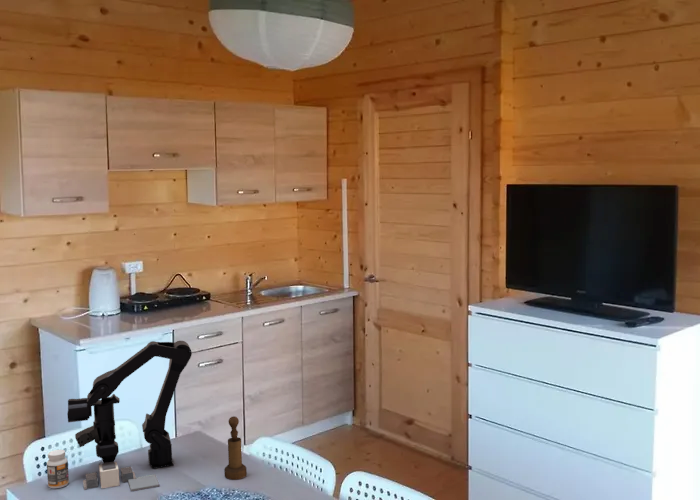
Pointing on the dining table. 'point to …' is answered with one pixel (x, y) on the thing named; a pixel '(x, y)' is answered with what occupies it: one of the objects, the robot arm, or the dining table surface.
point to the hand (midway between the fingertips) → (107, 467)
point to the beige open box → (109, 474)
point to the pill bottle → (57, 469)
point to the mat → (143, 482)
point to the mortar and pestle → (234, 454)
